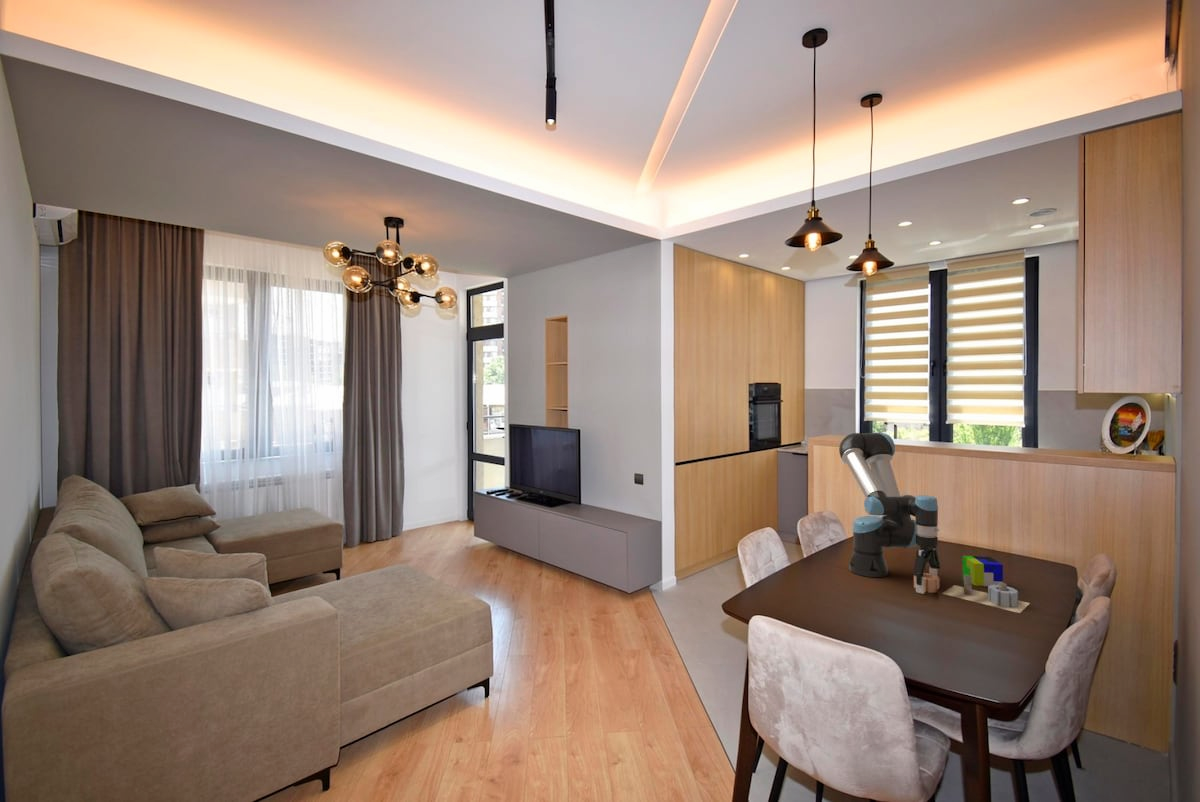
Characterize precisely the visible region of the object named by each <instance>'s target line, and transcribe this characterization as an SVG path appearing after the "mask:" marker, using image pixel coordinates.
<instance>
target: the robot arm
mask: <svg viewBox="0 0 1200 802" xmlns="http://www.w3.org/2000/svg"><path fill="white" fill-rule="evenodd" d="M895 448H896V445H895V441H894V440H893V438H892V437H891V436H890V435H889V434H888V433H884V432H865V433H864V432H863V433H860V432H859V433H858V432H854V433H849V434H848V435H846V436H845V437H844V438H843V439H842V440H841V442H840V444H839V449H838V450H839V451H838V452H839V455H840V458H841V460H842V462H843V463H844V464H846V465H847V467H848V468H849V470H850V471H851V473H852V475H853V477H854V479H855V480H856V482H857V484H858V486H859V488H860V490H861V491H862V493H863V495H864V497H865V499H864V503H863V504H864V510H865V512H866V514H868V515H864V516H860V517H857V518H856V519H854V520H853V526H852V536H853V538H852V539H853V542H852V543H853V545H852V546H853V547H852V548H853V550H852V551H853V553H852V556H851V559H850V561H849V564H848V570H849V571H850V572H852V574H855V575H859V576H863V577H867V578H868V577H870V578H883V577H887V576H888V575H889V568H888V565H887V562H886V558H885V557H884V548H886V549H890V548H891V549H892V548H895V549H897V548H898V549H899V548H901V549H902V548H903V549H907V548H914V547H917V546H919V547H920V548H919V549H916V552H915V553H916V557H915V562H914V567H913V573H912V576H913V577H914V576H916V588H915V593H918V594H923V595H924V594H925V592H924V577H923V574H924V573H925V570H926V566H927V563H928V565H929V569H928V573H930V574H934V575H936V576H938V570H940V569H941V564H940V558H939V554H938V550H937V547H938V546H939V540H938V539H939V538H938V534H939V533H938V532H939V531H940V529H939V527H938V526H939V525H938V523H939V521H938V519H939V518H938V515H939V514H938V513H939V512H938V511H939V506H938V499H937V497H935V496H932V495H926V494H925V495H924V494H923V495H922V494H920V495H916V496H914V495H912V494H911V495H910V494H902V495H901V494H900V491H899V487H898V484H897V480H896V477H895V474H894V471H893V467H892V464H891V461H892V460H893V457H894V455H895V452H896V449H895ZM880 516H881V517H880ZM911 516H913V517H915V518H913V519H912V517H911Z"/></svg>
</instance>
